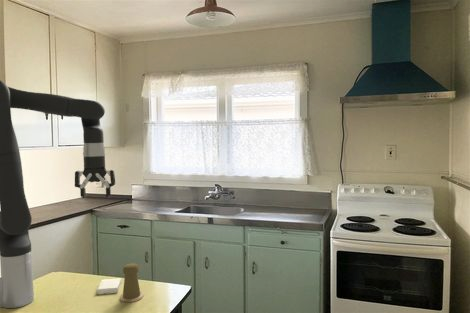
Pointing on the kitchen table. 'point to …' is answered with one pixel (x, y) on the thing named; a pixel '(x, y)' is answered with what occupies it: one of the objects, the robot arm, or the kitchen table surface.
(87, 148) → the robot arm
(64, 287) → the kitchen table surface
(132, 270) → the pepper shaker
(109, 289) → the tile
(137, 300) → the disc
